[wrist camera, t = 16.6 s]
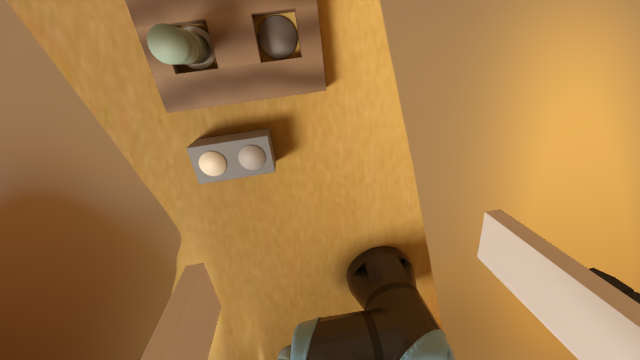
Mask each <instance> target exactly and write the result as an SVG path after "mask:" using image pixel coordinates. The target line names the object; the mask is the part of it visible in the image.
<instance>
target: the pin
mask: <svg viewBox="0 0 640 360" xmlns="http://www.w3.org/2000/svg"><path fill="white" fill-rule="evenodd" d="M147 43H148V47H149V49H150V51H151V53H152V54H153V55H154V56H155V57H156V58H157V59H158V60H159V61H161V62H163V63H166V64H201V63H204V62H206V61H207V60H208V58H209V56H210V46H209V44H208V42H207V40H206V39H205V38H204V37H203V36H201V35H200V34H197V33H194V32H191V31H188V30H185V29H182V28H179V27H175V26H172V25H169V24H165V23H160V24H156V25H154V26H153V27H152V28H151V29H150V30H149V32H148V35H147Z"/></svg>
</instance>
